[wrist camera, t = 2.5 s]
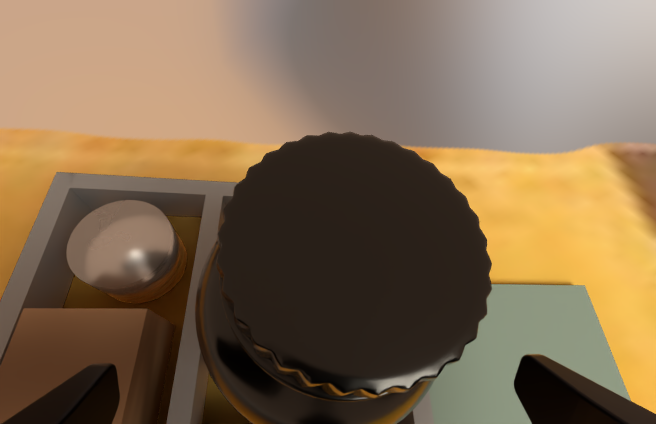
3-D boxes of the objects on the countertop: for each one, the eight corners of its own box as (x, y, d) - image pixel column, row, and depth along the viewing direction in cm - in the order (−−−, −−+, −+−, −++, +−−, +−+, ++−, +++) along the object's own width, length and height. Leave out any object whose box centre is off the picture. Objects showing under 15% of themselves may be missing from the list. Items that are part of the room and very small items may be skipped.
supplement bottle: (396, 358, 16) (634, 311, 6) (275, 455, 13) (288, 707, 3) (322, 246, 18) (392, 60, 8) (205, 311, 16) (72, 167, 5)
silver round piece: (179, 303, 16) (160, 288, 13) (89, 303, 15) (51, 287, 12) (193, 229, 18) (179, 202, 15) (113, 226, 17) (84, 197, 14)
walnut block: (157, 426, 13) (116, 441, 10) (50, 431, 13) (-34, 450, 9) (175, 325, 15) (147, 308, 12) (82, 326, 15) (23, 308, 11)
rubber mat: (671, 534, 14) (686, 539, 14) (440, 562, 13) (447, 570, 12) (576, 288, 19) (584, 285, 19) (402, 285, 18) (406, 282, 17)
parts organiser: (414, 454, 14) (440, 466, 12) (-23, 484, 12) (-91, 508, 10) (384, 213, 20) (398, 192, 18) (83, 198, 17) (56, 172, 15)
